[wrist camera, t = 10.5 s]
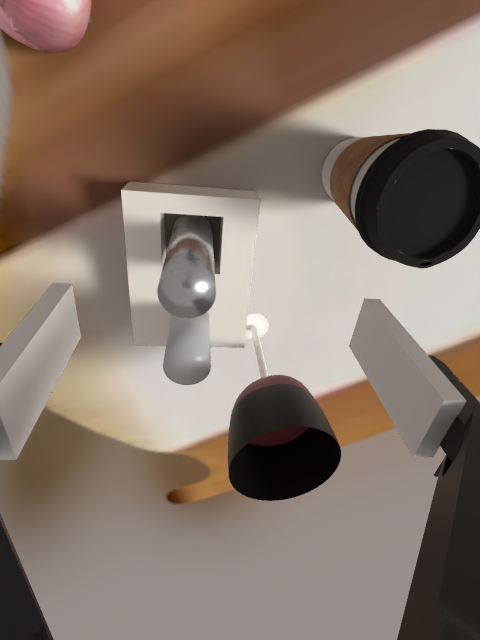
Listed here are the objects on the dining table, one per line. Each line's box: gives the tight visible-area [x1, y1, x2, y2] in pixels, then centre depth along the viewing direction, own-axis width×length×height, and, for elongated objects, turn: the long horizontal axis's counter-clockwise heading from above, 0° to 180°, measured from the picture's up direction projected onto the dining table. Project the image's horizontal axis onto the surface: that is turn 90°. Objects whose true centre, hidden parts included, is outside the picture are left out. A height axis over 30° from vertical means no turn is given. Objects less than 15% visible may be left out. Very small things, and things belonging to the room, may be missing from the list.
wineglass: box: [228, 314, 341, 501], centre depth 35 cm, size 8×9×20 cm
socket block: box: [121, 182, 261, 385], centre depth 33 cm, size 16×12×12 cm
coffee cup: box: [322, 129, 480, 268], centre depth 28 cm, size 8×8×15 cm
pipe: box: [157, 214, 216, 318], centre depth 30 cm, size 4×4×14 cm
